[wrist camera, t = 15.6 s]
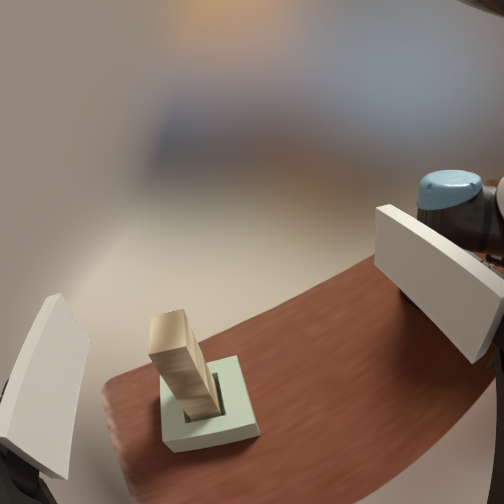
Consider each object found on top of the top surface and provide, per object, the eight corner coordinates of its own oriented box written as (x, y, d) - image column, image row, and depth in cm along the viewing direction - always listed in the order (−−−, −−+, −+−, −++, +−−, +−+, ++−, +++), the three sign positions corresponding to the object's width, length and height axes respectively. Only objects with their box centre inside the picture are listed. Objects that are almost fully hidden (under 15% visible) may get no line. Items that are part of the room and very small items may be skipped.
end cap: (241, 371, 43) (236, 355, 41) (260, 435, 33) (255, 422, 31) (169, 388, 42) (160, 373, 40) (174, 452, 31) (162, 441, 30)
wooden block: (218, 388, 40) (183, 308, 32) (225, 421, 34) (186, 346, 27) (192, 394, 39) (150, 316, 31) (197, 427, 34) (148, 354, 26)
